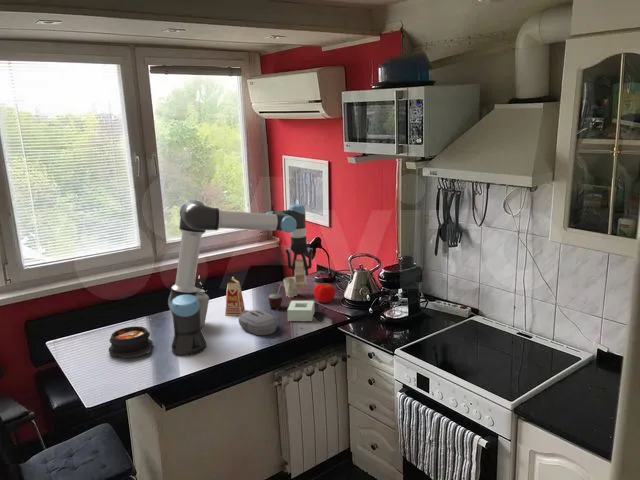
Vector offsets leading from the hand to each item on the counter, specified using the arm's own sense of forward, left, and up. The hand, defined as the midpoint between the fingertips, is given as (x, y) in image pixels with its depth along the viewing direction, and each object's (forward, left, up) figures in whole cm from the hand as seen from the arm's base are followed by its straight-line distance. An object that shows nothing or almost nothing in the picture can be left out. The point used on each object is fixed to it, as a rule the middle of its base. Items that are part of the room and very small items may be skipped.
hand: (300, 281), depth 257 cm
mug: (+32, +11, -19) cm, 39 cm away
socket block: (+2, +1, -19) cm, 19 cm away
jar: (-16, +56, -17) cm, 61 cm away
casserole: (-40, +72, -19) cm, 84 cm away
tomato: (+25, -9, -19) cm, 33 cm away
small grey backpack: (-15, +19, -20) cm, 31 cm away
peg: (0, 0, -3) cm, 3 cm away
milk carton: (+7, +37, -19) cm, 42 cm away
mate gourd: (+14, +16, -19) cm, 28 cm away
